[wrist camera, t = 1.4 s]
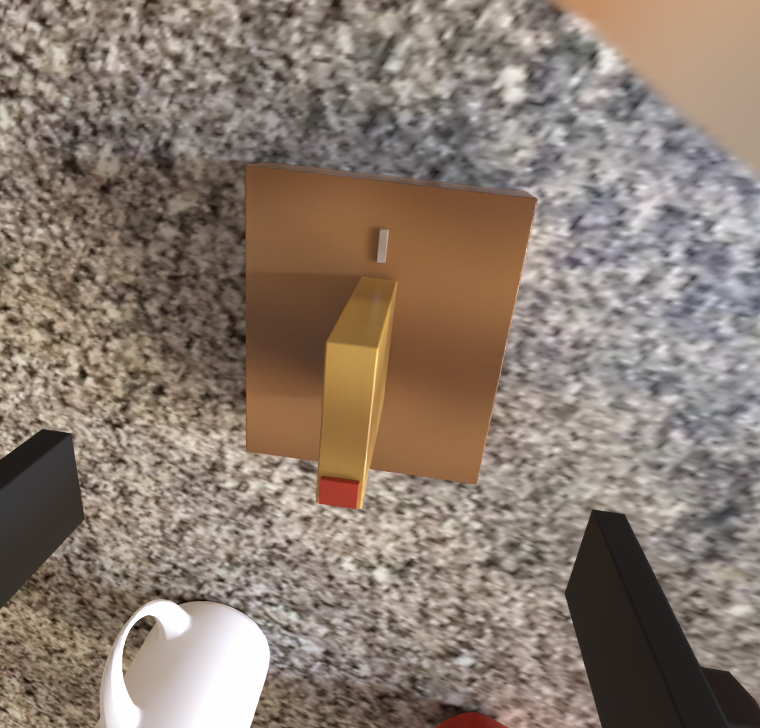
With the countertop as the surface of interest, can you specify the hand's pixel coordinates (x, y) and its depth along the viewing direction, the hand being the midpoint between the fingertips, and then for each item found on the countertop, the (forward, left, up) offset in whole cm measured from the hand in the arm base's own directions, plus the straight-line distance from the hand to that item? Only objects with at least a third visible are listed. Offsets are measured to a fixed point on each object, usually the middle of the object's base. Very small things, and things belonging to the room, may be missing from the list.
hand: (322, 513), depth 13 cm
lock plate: (0, 0, -15) cm, 15 cm away
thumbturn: (0, 0, -12) cm, 12 cm away
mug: (+24, -10, -15) cm, 30 cm away
